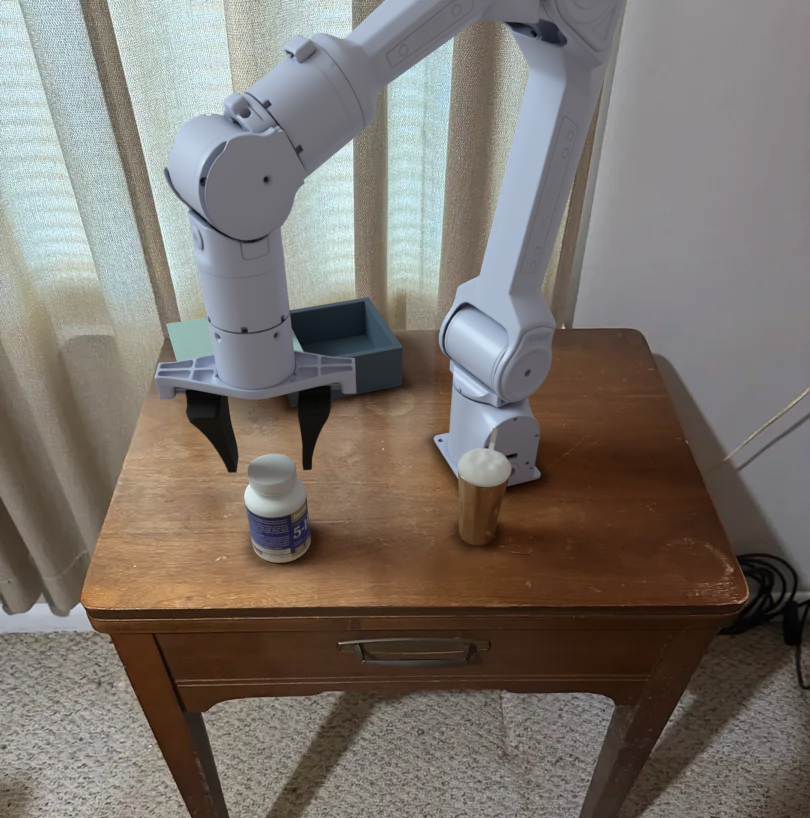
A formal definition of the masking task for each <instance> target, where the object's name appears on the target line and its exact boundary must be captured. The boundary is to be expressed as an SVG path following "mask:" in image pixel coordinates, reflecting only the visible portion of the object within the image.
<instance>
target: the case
mask: <svg viewBox="0 0 810 818" xmlns="http://www.w3.org/2000/svg"><path fill="white" fill-rule="evenodd" d="M290 318H291V328H292V330H293V332H294V334H295V336H296V338H297V340H298V342H299V344H300V346H301V348H302V350H303V352H307V353H313V354H319V355H325V356H331V357H340V358H355V373H356V393H355V394H344V393H342V390H341V389H331V401H332V400H336V399H341V398H347V397H351V396H357V395H361V394H362V395H363V394H368V393H371V392H376V391H381V390H382V391H383V390H386V389H387V390H388V389H392V388H397V387H401V386H403V374H404V373H403V371H404V369H403V366H404V364H403V363H404V347H403V345H402V344H401V343H400V342H401V341H399V339H398V338H397V337H396V335H395V334H394V332H393V331H392V329H391V327H390V326H389V325H388V323H387V321H386V320H385V318H383V315H382V314H381V313H380V311H379V310H378V308H377V307H376V305H375V304H374V302H373V301H372V300H371V299H370V297H369V296H368V297H360V298H355V299H349V300H344V301H336V302H332V303H331V302H330V303H324V304H319V305H313V306H307V307H306V306H305V307H300V308H295V309H290ZM285 395H286V397H287V399H288V401H289V403H290V407H291V408H296V407H297V408H298V395H299V391H297V392H293V393H288V394H285Z"/></svg>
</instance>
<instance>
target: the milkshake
mask: <svg viewBox="0 0 810 818" xmlns="http://www.w3.org/2000/svg"><path fill="white" fill-rule="evenodd" d="M497 431H498V429H497V428H493V429H492V434H491V439H490V444H489V449H485V448H476V449H473V450H471V451H469V452H467V453H465V454H464V455H463V456H462V457H461V459H460V460H459V462H458V466H457V468H458V478H457V483H458V485H457V486H458V534H459V535H460V538H461V539H462V541H463V542H465V543H467V544H469V545H471V546H482V547H483V546H485V545H487V544H489V543H491V542H492V541H493V539H494V537H495V533H496V529H497V525H498V522H499V517H500V514H501V509H502V504H503V500H504V496H505V494H506V491H507V487H508V486H507V484H508V481H509V477H510V474H511V464H510V462H509V461H508V459H507V458H506V457H505V456H504V455H503V454H502V453H500V452H497V451H494V447H495V442H496V436H497Z"/></svg>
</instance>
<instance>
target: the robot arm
mask: <svg viewBox="0 0 810 818" xmlns="http://www.w3.org/2000/svg"><path fill="white" fill-rule="evenodd" d="M624 2H625V0H383V1H382V2H381V3H380V4H379V5H378V6H377V7H376V8H375V9H374V10H373V11H372V12H371V13H370V14H369V15H368V16H366V18H365V19H364V20H362V21H361V22H360V23H359V24H358V25H357V26H356V27H355V28H354V29H353V30H352V31H351V32H350V33H348V35H346V36H345V37H344V38H340V37H337V36H335V35H332V34H329V33H324V32H317V33H314V34H313V35H312V36H311V37H310V38H308V37H305V36H304V35H301V34H296V35H295V36H294V37H293V38H292V39H290V40H289V41H287V43H285V44H284V45H283V50H284V53H285V54H286V57H285V58H284V59H283V60H281V61H280V62H279V63H278V64H276V65H275V67H273V68H272V69H270V70H269V71H268V72H267V73H266V74H264V75H263V76H262V77H261V78H260V79H258V80H257V81H256V82H254V84H252V85H251V86H250V87H249V88H247V89H246V90H245V91H244V92H243V93H241V94H240V93H238V92H236V91H233V92H232V93H231V94H230V95H228V96H227V97H226V98H224V100H223V101H222V104H223V107H224V109H223V113H222V114H220V113H213V112H212V113H210V115H209V114H208V115H207V114H206V113H203V114H199V115H197V116H193V117H192V118H190V119H189V120H188V121H186V122H185V123H184V124H183V125H182V126H180V128H179V130H177V132H176V133H175V134H174V137H173V139H172V141H173V145H172V147H171V146H170V147H169V152H168V158H167V159H168V160H167V166H164V168H163V175H164V178H165V181H166V183H167V185H168V188H170V190H171V192H172V194H174V195H175V197H176V198H177V199H179V201H181V202H182V203H183V204H184V205H185V206H186V207H187V209H188V211H187V216H188V221H189V227H190V233H191V238H192V243H193V253H194V259H195V263H196V269H197V274H198V279H199V284H200V289H201V295H202V300H203V305H204V310H205V315H206V317H207V321H208V326H209V331H210V337H211V342H212V347H213V352H214V354H211V355H206V356H202V357H197V358H192V359H188V360H182V361H177V360H176V361H167V362H158V364H157V366H156V367H157V368H156V371H155V375H154V381H155V384H156V388H157V392H158V396H159V399H160V400H172V399H175V398H176V396H177V395H178V394H179V395H181V394H182V395H183V394H185V399H186V408H185V415H186V417H187V420H188V421H189V423H190V424H191V425H193V426H194V427H195V428H196V429H197V430H198V431H200V433H201V434H202V435H204V436H205V438H206V439H207V440H208V441H209V442H210V443H211V445H212V446H213V447H214V449H215V450H216V452H217V454H218V455H219V457H220V459H221V460H222V462H223V464H224V466H225V468H226V470H227V473H228V474H234V473H235V474H237V471H238V465H239V449H238V448H239V447H238V442H237V439H236V435H235V431H234V427H233V424H232V423H233V422H232V418H231V411H230V403H229V397H230V398H234V399H241V400H248V401H249V400H250V401H256V400H257V401H258V400H266V399H272V398H275V397H280V396H285V395H286V394H288V393H293V392H297V391H299V395H298V406H297V410H296V411H297V418H298V425H299V430H300V431H299V432H300V438H301V456H302V457H301V465H302V470H303V471H311V470H313V457H314V452H315V449H316V445H317V441H318V439H319V437H320V434H321V432H322V430H323V428H324V426H325V424H326V422H327V421H328V419H329V417H330V414H331V411H332V400H331V389H341V390H342V393H344V394H355V393H356V373H355V358H340V357H331V356H325V355H319V354H313V353H307V352H302V351H296V350H294V347H293V337H292V328H291V318H290V310H291V309H290V300H289V292H288V282H287V272H286V271H287V270H286V262H285V252H284V245H283V237H282V236H283V235H282V227H283V226H284V224H285V223H286V221H287V219H288V218H289V216H290V214H291V212H292V210H293V206H294V203H295V198H296V195H297V193H298V191H299V190H300V188H301V187H303V185H305V180H306V179H307V178H308V177H309V176H311V175H312V174H313V173H314V172H315V171H316V170H318V169H319V168H320V167H321V166H323V164H325V163H326V162H327V161H328V160H330V159H331V158H332V157H333V156H335V154H337V153H338V152H339V151H340V150H342V149H343V148H344V147H345V146H346V145H348V144H349V143H350V142H351V141H352V140H353V139H354V138H356V137H357V136H359V135H360V134H361V133H362V132H363V131H364V130H366V129H367V128H368V127H369V126H370V125H372V123H373V122H374V120H375V115H376V110H377V104H378V103H377V101H378V95H379V92H380V91H381V90H382V89H384V88H386V87H387V86H388V85H389V84H391V83H392V82H394V81H395V80H396V79H397V78H399V77H400V76H402V75H403V74H405V73H406V72H407V71H409V70H411V69H412V68H413V67H414V66H416V65H417V64H418V63H420V62H421V61H422V60H424V59H425V58H427V57H428V56H430V55H431V54H432V53H433V52H435V51H436V50H438V49H439V48H441V47H442V46H444V45H445V44H446V43H447V42H449V41H450V40H452V39H453V38H454V37H456V36H458V34H461V32H463V31H464V30H465V29H467V28H468V27H469V26H471V25H472V24H474V23H475V22H477V21H495V22H500V23H502V24H503V25H504V26H505V27H507V28H508V29H509V32H510V33H511V35H512V37H513V38H514V40H515V42H516V44H517V46H518V48H519V50H520V52H521V54H522V55H523V58H524V59H525V61H526V63H527V65H528V68H529V71H528V72H529V73H528V76H527V81H526V85H525V89H524V93H523V97H522V101H521V105H520V109H519V114H518V118H517V122H516V126H515V130H514V134H513V137H512V141H511V147H510V150H509V155H508V158H507V162H506V165H505V170H504V175H503V178H502V183H501V186H500V191H499V195H498V198H497V203H496V207H495V212H494V215H493V219H492V224H491V227H490V232H489V235H488V239H487V244H486V248H485V252H484V256H483V260H482V265H481V268H480V272H479V275H478V276H476V277H474V278H472V279H469V280H468V281H465V282H463V283H461V284H460V285H458V286H457V288H456V293H455V298H454V301H453V303H452V306H451V307H450V309H449V311H448V313H447V314H446V316H445V317H444V318H443V321H442V323H441V326H440V328H439V333H438V344H439V348H440V350H441V352H442V354H443V355H444V356H445V357H447V358H448V359H449V371H450V372H451V374H452V386H451V400H450V401H451V402H450V403H451V404H450V415H449V429H448V432H445V433H441V434H437V435H434V437H433V441H434V444H435V445H436V447H437V448H438V451H440V453H441V455H442V456H443V458H444V460H445V461H446V462H447V464H448V465H449V467H450V469H451V470H452V472H453V474H454V475H455V477H456V479H458V468H457V466H458V462H459V460H460V459H461V457H462V456H463V455H464V454H465V453H467V452H469V451H471V450H473V449H476V448H485V449H489V444H490V439H491V434H492V429H493V428H497V429H498V431H497V436H496V442H495V447H494V451H497V452H500V453H502V454H503V455H504V456H505V457H506V458H507V459H508V461H509V462H510V464H511V474H510V477H509V481H508V484H507V487H511V486H514V485H519V484H524V483H526V482H531V481H535V480H539V479H540V478H541V474H542V473H541V472H540V470H539V469H538V468H537V466H536V461H537V456H538V449H539V444H540V439H541V427H540V423H539V422H538V420H537V418H536V416H535V415H534V413H533V411H532V408H531V406H530V398H529V397H530V396H531V395H533V394H534V393H535V392H537V390H538V389H539V388H540V387H541V386H542V385H543V383H544V382H545V380H546V378H547V377H548V375H549V373H550V369H551V365H552V361H553V348H552V347H553V346H552V345H553V338H554V335H555V333H556V332H555V331H556V329H557V322H556V320H555V317H554V315H553V312H552V311H551V308H550V307H549V304H548V301H547V300H546V298H545V296H544V292H543V289H542V288H543V284H544V280H545V278H546V277H545V276H546V274H547V270H548V268H549V264H550V262H551V258H552V254H553V251H554V248H555V244H556V241H557V238H558V234H559V231H560V227H561V224H562V220H563V218H564V214H565V211H566V207H567V204H568V201H569V199H570V198H569V197H570V194H571V190H572V187H573V184H574V181H575V177H576V175H577V171H578V167H579V164H580V161H581V157H582V154H583V151H584V147H585V144H586V141H587V138H588V135H589V131H590V127H591V124H592V120H593V118H594V115H595V111H596V108H597V104H598V101H599V98H600V94H601V91H602V87H603V84H604V81H605V78H606V74H607V72H608V71H607V70H608V68H609V64H610V60H611V55H612V53H613V46H614V36H615V32H616V29H617V26H618V23H619V19H620V16H621V13H622V10H623V9H622V8H623V5H624Z"/></svg>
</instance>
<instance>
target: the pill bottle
mask: <svg viewBox="0 0 810 818" xmlns="http://www.w3.org/2000/svg"><path fill="white" fill-rule="evenodd" d="M247 477H248V478H247V479H248V483H249V484H248V485H247V487H246V488H245V491H244V497H243V499H244V505H245V511H246V512H245V513H246V516H247V522H248V527H249V532H250V539H251V544H252V547H253V550H254V552H255V554H256V555H257V556H258V557H259V558H261V559H263V560H265V561H267V562H271V563H276V564H277V563H279V564H281V563H289V562H293V561H295V560H296V559H299V558H301V557H302V556H303V555H304V554H305V553H306V552H307V551H308V549H309V547H310V545H311V543H312V538H311V526H310V515H309V508H308V497H307V490H306V487H305V484H304V483H303V482H302V481H301V479H300V478H298V472H297V467H296V463H295V462H294V461H293V460H292V458H291V457H289V456H288V455H284V454H281V453H268V454H263V455H260V456H258V457H257V458H255V459H253V460H252V461H251V462H250V463H249V465H248V467H247Z"/></svg>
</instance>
